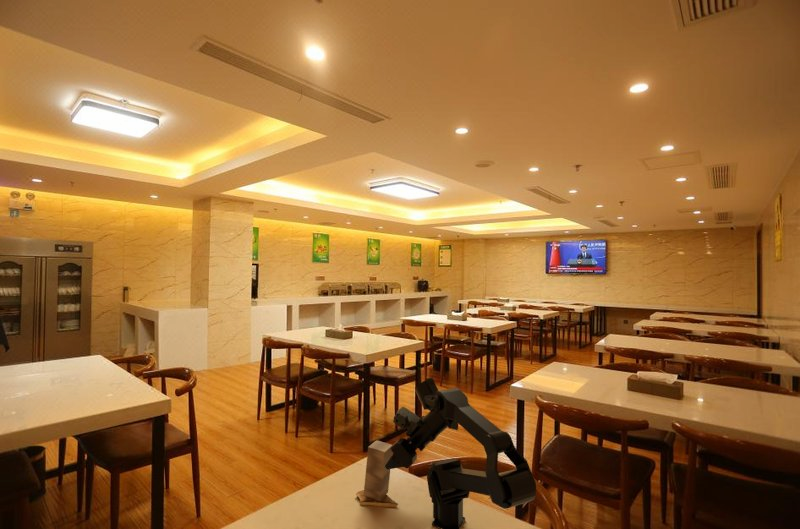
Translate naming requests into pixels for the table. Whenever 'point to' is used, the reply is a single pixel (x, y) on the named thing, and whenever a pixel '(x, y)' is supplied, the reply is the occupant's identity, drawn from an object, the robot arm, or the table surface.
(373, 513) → the table surface
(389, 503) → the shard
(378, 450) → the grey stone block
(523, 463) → the robot arm
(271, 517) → the table surface
